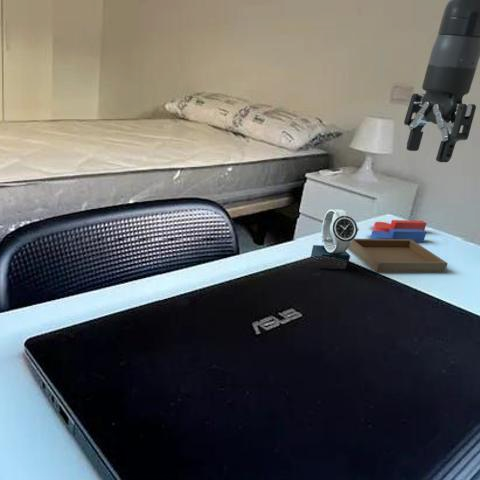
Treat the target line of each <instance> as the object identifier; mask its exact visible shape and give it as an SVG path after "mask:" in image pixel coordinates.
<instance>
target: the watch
mask: <svg viewBox="0 0 480 480" xmlns="http://www.w3.org/2000/svg"><path fill="white" fill-rule="evenodd" d="M359 231H360V229H359V227H358V224H357V222H356V220H355V219H354V218H353V217H352V215H351V213H348V211H346V210H345V209H336V208H335V209H333V208H330V209H328V210H327V211H326V213H325V215H324V217H323V221H322V223H321V234H320V237H321V242H322V243H323V245H322V244H321V245H320V244H319V245H318V244H313V245H312V248H311V254H310V258H311V257H313V256H322V257H323V256H329V257H337V258H341V259H344V260H346V261H349V262H350V259H351V254H349V253H348V252H347V250H348V247H349V245H351V244H352V242H353V239H356V238H357V235H358V232H359Z"/></svg>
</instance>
